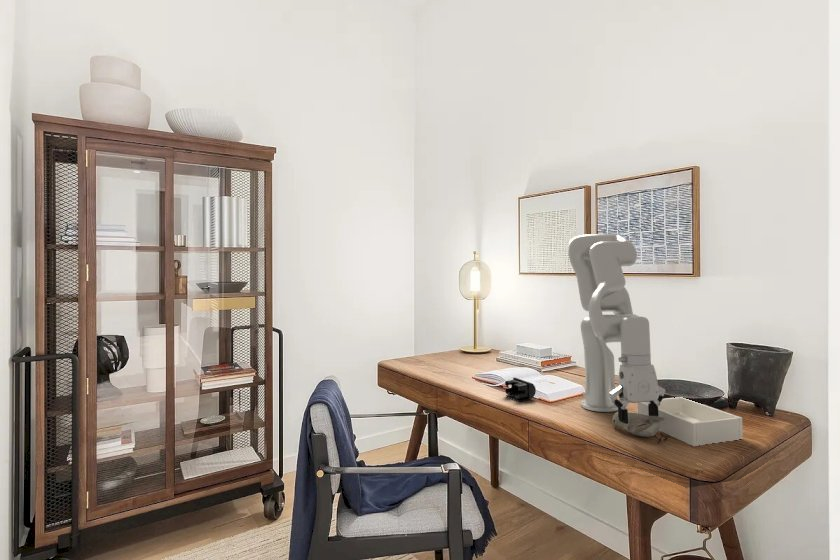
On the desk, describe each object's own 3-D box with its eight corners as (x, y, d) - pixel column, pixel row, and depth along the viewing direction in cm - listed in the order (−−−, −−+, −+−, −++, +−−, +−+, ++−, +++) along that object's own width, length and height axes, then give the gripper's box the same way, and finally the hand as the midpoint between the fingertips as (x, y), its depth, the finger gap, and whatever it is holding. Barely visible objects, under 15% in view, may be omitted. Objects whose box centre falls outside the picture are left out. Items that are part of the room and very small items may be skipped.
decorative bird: (619, 426, 137) (618, 402, 137) (671, 443, 123) (670, 415, 123) (607, 430, 134) (606, 405, 134) (659, 447, 120) (659, 419, 120)
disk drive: (700, 399, 163) (672, 405, 156) (700, 391, 163) (672, 397, 156) (730, 406, 153) (702, 413, 147) (730, 398, 153) (701, 404, 147)
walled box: (638, 420, 141) (637, 401, 141) (681, 415, 144) (681, 396, 144) (693, 446, 120) (693, 423, 120) (742, 439, 123) (742, 417, 123)
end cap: (536, 400, 167) (535, 381, 167) (520, 402, 164) (519, 384, 164) (520, 393, 176) (519, 376, 176) (504, 396, 173) (504, 378, 173)
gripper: (617, 364, 123) (619, 427, 123) (672, 360, 127) (675, 421, 126) (600, 360, 130) (603, 420, 130) (653, 356, 134) (655, 414, 134)
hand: (638, 420), depth 128 cm, fingers open, 9 cm apart
